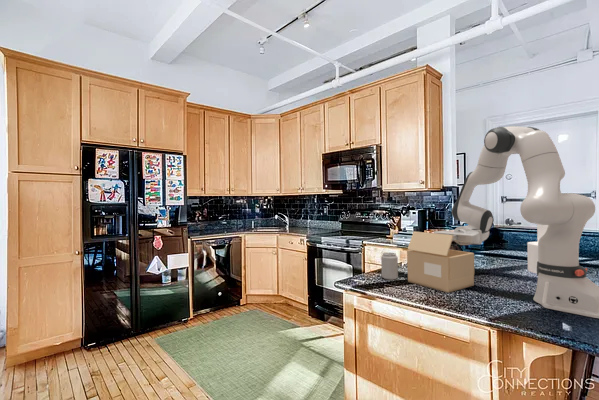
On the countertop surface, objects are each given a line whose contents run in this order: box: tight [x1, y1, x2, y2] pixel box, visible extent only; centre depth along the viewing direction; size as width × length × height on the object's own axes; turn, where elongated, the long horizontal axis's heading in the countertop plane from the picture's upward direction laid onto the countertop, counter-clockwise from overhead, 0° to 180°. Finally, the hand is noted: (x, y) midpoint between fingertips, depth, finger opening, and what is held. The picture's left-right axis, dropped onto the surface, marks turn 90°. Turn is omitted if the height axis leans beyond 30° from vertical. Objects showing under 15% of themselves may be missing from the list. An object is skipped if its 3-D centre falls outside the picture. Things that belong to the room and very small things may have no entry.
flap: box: [407, 231, 453, 256], centre depth 135 cm, size 19×9×1 cm
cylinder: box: [526, 224, 548, 275], centre depth 154 cm, size 17×17×28 cm
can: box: [380, 252, 399, 281], centre depth 149 cm, size 8×8×12 cm
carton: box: [406, 249, 475, 293], centre depth 138 cm, size 21×19×14 cm
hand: (445, 238), depth 140 cm, fingers closed
